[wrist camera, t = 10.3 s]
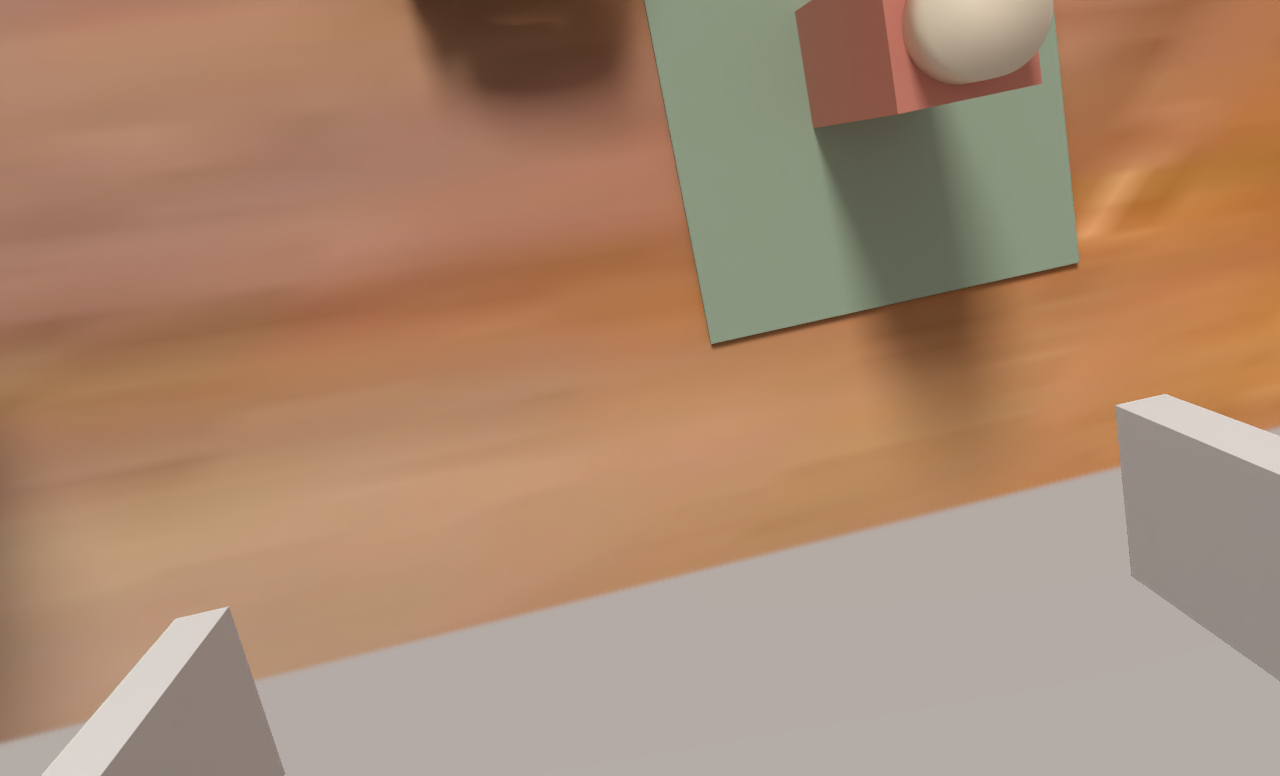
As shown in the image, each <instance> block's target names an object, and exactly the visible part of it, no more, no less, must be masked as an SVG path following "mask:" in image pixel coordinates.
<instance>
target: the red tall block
mask: <svg viewBox="0 0 1280 776" xmlns="http://www.w3.org/2000/svg"><path fill="white" fill-rule="evenodd" d="M795 16H796V22H797V29H798V35H799V42H800V48H801V54H802V61H803V67H804V73H805V80H806V86H807V92H808V99H809V105H810V112H811V118H812V124H813V128H818V127H824V126H830V125H836V124H842V123H848V122H854V121H860V120H866V119H872V118H878V117H884V116H890V115H896V114H901V113H906V112H911V111H915V110H920V109H925V108H930V107H934V106H939V105H944V104H949V103H953V102H958V101H963V100H967V99H972V98H977V97H982V96H986V95H991V94H996V93H1001V92H1005V91H1010V90H1015V89H1020V88H1024V87H1029V86H1034V85H1039V84H1042V78H1041V68H1040V59H1039V49H1040V47H1041V45H1042V44H1043V42H1044V40H1045V38H1046V36H1047V34H1048V31H1049V28H1050V25H1051V21H1052V16H1053V0H811V1H810V2H808V3H807V4H805V5H804V6H802V7H801V8H799V9H798V10H796V11H795Z"/></svg>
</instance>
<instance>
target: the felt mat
mask: <svg viewBox="0 0 1280 776" xmlns="http://www.w3.org/2000/svg"><path fill="white" fill-rule="evenodd" d="M810 1H811V0H644V4H645V9H646V14H647V19H648V24H649V29H650V35H651V40H652V45H653V50H654V55H655V60H656V65H657V70H658V76H659V81H660V86H661V91H662V96H663V101H664V106H665V112H666V117H667V122H668V127H669V132H670V137H671V142H672V147H673V153H674V158H675V163H676V168H677V173H678V178H679V183H680V189H681V194H682V199H683V204H684V209H685V214H686V219H687V224H688V230H689V235H690V240H691V245H692V250H693V255H694V260H695V266H696V271H697V276H698V281H699V286H700V291H701V296H702V301H703V307H704V312H705V317H706V322H707V327H708V332H709V337H710V343H711V344H714V343H718V342H723V341H727V340H732V339H736V338H741V337H745V336H750V335H754V334H759V333H763V332H768V331H772V330H777V329H781V328H786V327H790V326H795V325H799V324H804V323H808V322H813V321H817V320H822V319H826V318H831V317H836V316H840V315H845V314H849V313H854V312H858V311H863V310H867V309H872V308H876V307H881V306H885V305H890V304H894V303H899V302H903V301H908V300H912V299H917V298H921V297H926V296H930V295H935V294H939V293H944V292H948V291H953V290H957V289H962V288H966V287H971V286H975V285H980V284H984V283H989V282H993V281H998V280H1002V279H1007V278H1011V277H1016V276H1020V275H1025V274H1029V273H1034V272H1038V271H1043V270H1047V269H1052V268H1056V267H1061V266H1065V265H1070V264H1074V263H1079V254H1078V244H1077V234H1076V224H1075V214H1074V204H1073V195H1072V185H1071V175H1070V165H1069V155H1068V145H1067V135H1066V126H1065V116H1064V106H1063V96H1062V86H1061V76H1060V66H1059V56H1058V47H1057V37H1056V27H1055V17H1054V7H1053V16H1052V21H1051V25H1050V28H1049V31H1048V34H1047V36H1046V38H1045V40H1044V42H1043V44H1042V45H1041V47H1040V49H1039V59H1040V68H1041V78H1042V84H1039V85H1034V86H1029V87H1024V88H1020V89H1015V90H1010V91H1005V92H1001V93H996V94H991V95H986V96H982V97H977V98H972V99H967V100H963V101H958V102H953V103H949V104H944V105H939V106H934V107H930V108H925V109H920V110H915V111H911V112H906V113H901V114H896V115H890V116H884V117H878V118H872V119H866V120H860V121H854V122H848V123H842V124H836V125H830V126H824V127H818V128H813V124H812V118H811V112H810V105H809V99H808V92H807V86H806V80H805V73H804V67H803V61H802V54H801V48H800V42H799V35H798V29H797V22H796V16H795V11H796V10H798V9H799V8H801V7H802V6H804V5H805V4H807V3H808V2H810Z"/></svg>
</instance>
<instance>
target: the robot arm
mask: <svg viewBox="0 0 1280 776" xmlns="http://www.w3.org/2000/svg"><path fill="white" fill-rule="evenodd" d="M1115 410H1116V420H1117V431H1118V441H1119V452H1120V462H1121V472H1122V483H1123V493H1124V503H1125V514H1126V524H1127V534H1128V545H1129V554H1130V566H1131V576H1132V577H1134V578H1135V579H1137V580H1138V581H1139V582H1141V583H1142V584H1144V585H1145V586H1146V587H1148V588H1149V589H1151V590H1152V591H1154V592H1155V593H1156V594H1158V595H1159V596H1161V597H1162V598H1163V599H1165V600H1166V601H1168V602H1169V603H1171V604H1172V605H1174V606H1175V607H1176V608H1177V609H1179V610H1180V611H1182V612H1183V613H1185V614H1186V615H1187V616H1189V617H1190V618H1192V619H1193V620H1194V621H1196V622H1197V623H1199V624H1200V625H1202V626H1203V627H1204V628H1206V629H1207V630H1209V631H1210V632H1211V633H1213V634H1214V635H1216V636H1217V637H1218V638H1220V639H1221V640H1223V641H1224V642H1226V643H1227V644H1228V645H1230V646H1231V647H1233V648H1234V649H1236V650H1237V651H1238V652H1240V653H1241V654H1242V655H1244V656H1245V657H1247V658H1248V659H1250V660H1251V661H1252V662H1254V663H1255V664H1257V665H1258V666H1259V667H1261V668H1262V669H1264V670H1265V671H1266V672H1268V673H1269V674H1271V675H1272V676H1274V677H1275V678H1276V679H1278V680H1279V681H1280V436H1278V435H1275V434H1273V433H1270V432H1267V431H1264V430H1262V429H1259V428H1256V427H1254V426H1251V425H1248V424H1245V423H1243V422H1240V421H1237V420H1235V419H1232V418H1229V417H1226V416H1224V415H1221V414H1218V413H1216V412H1213V411H1210V410H1207V409H1205V408H1202V407H1199V406H1197V405H1194V404H1191V403H1188V402H1186V401H1183V400H1180V399H1178V398H1175V397H1172V396H1169V395H1167V394H1163V395H1158V396H1154V397H1149V398H1145V399H1141V400H1136V401H1132V402H1127V403H1123V404H1119V405H1115ZM284 774H285V772H284V769H283V766H282V763H281V761H280V758H279V755H278V752H277V748H276V745H275V743H274V739H273V737H272V733H271V730H270V728H269V725H268V722H267V719H266V716H265V713H264V710H263V707H262V704H261V701H260V698H259V695H258V692H257V689H256V686H255V683H254V680H253V677H252V674H251V671H250V668H249V665H248V662H247V659H246V656H245V653H244V650H243V647H242V644H241V641H240V638H239V635H238V632H237V629H236V626H235V623H234V620H233V617H232V615H231V612H230V609H229V607H225V608H220V609H216V610H212V611H207V612H203V613H198V614H194V615H190V616H185V617H181V618H176V619H175V620H174V621H173V622H172V623H171V624H170V626H169V627H168V628H167V629H166V630H165V631H164V633H163V634H162V635H161V636H160V637H159V638H158V640H157V641H156V642H155V643H154V644H153V645H152V647H151V648H150V649H149V650H148V651H147V652H146V654H145V655H144V656H143V657H142V658H141V659H140V661H139V662H138V663H137V664H136V665H135V666H134V668H133V669H132V670H131V671H130V672H129V673H128V675H127V676H126V677H125V678H124V679H123V680H122V682H121V683H120V684H119V685H118V686H117V687H116V689H115V690H114V691H113V692H112V693H111V694H110V696H109V697H108V698H107V699H106V700H105V701H104V703H103V704H102V705H101V706H100V707H99V708H98V710H97V711H96V712H95V713H94V714H93V715H92V717H91V718H90V719H89V720H88V721H87V722H86V724H85V725H84V726H83V727H82V728H81V729H80V731H79V732H78V733H77V734H76V735H75V736H74V738H73V739H72V740H71V741H70V742H69V744H68V745H67V746H66V747H65V748H64V749H63V750H62V752H61V753H60V754H59V755H58V756H57V757H56V759H55V760H54V761H53V762H52V763H51V765H50V766H49V767H48V768H47V769H46V770H45V771H44V773H43V774H42V775H41V776H284Z"/></svg>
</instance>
